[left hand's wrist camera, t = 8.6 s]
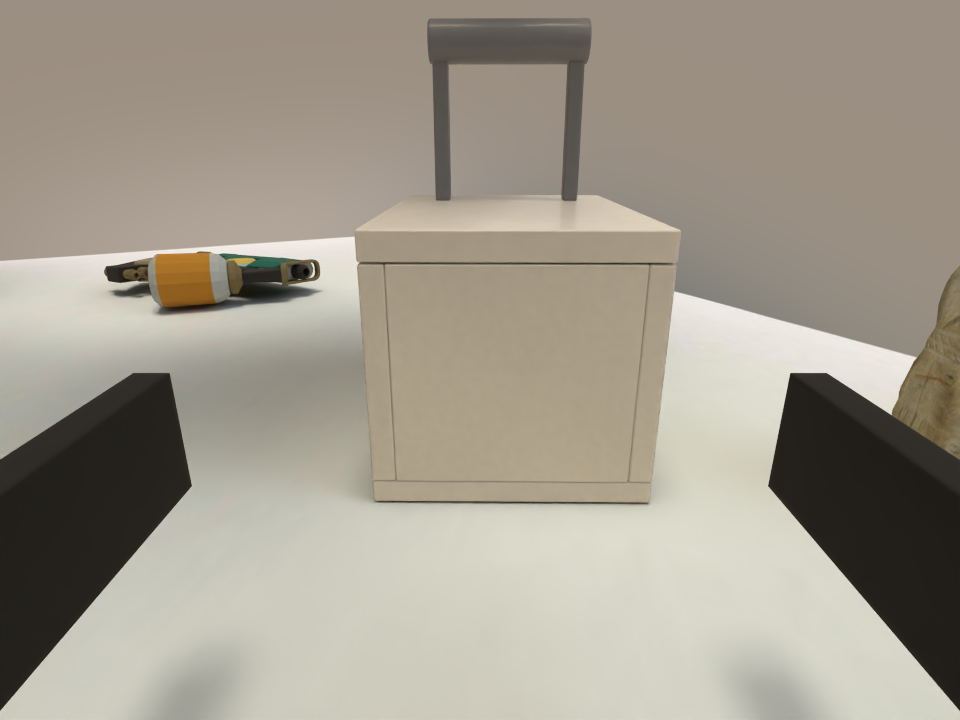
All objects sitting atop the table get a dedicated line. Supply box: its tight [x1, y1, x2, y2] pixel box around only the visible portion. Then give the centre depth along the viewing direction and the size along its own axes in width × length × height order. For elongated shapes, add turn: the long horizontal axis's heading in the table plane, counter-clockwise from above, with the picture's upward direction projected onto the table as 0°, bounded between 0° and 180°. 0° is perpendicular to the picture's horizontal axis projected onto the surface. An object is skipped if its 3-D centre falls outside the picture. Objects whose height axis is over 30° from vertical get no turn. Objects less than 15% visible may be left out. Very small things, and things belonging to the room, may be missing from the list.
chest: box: [357, 262, 677, 502], centre depth 26 cm, size 14×10×9 cm
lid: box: [355, 18, 681, 263], centre depth 24 cm, size 14×10×9 cm
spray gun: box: [104, 252, 320, 307], centre depth 53 cm, size 4×17×15 cm
